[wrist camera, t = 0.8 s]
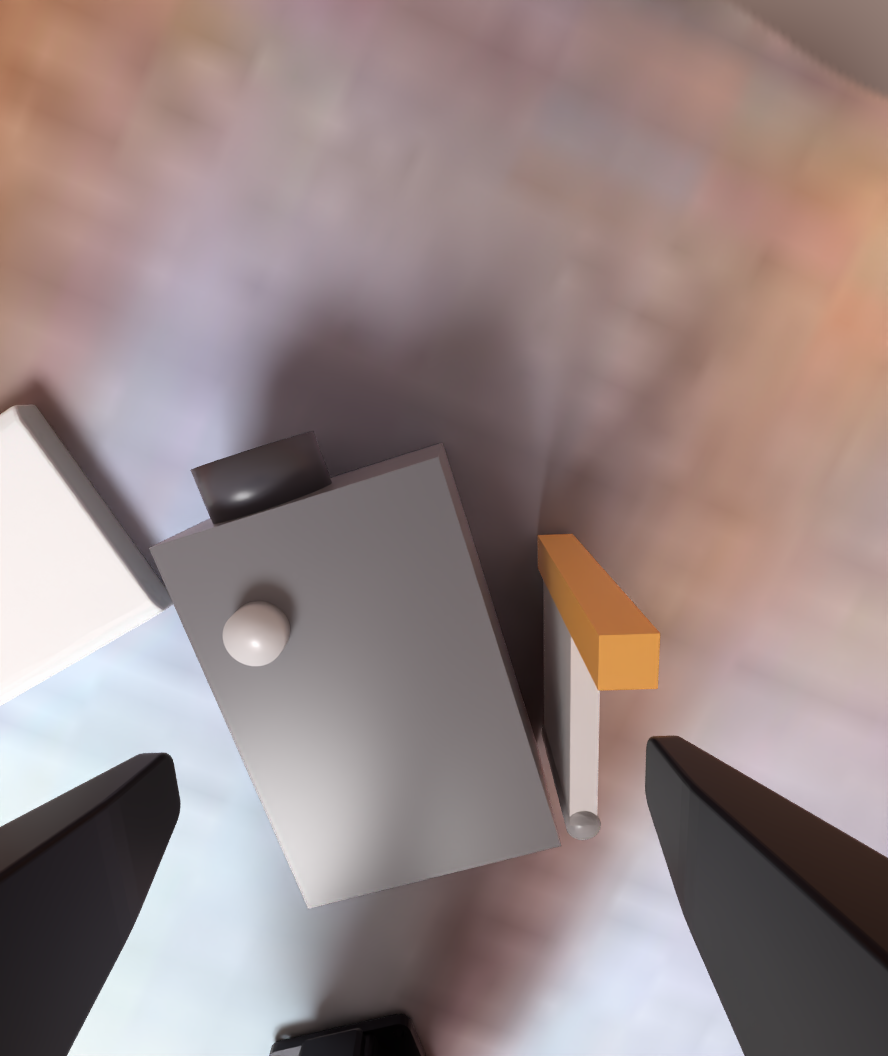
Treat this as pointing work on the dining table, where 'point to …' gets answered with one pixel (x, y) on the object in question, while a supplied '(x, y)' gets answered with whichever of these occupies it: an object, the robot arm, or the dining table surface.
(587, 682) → the side door
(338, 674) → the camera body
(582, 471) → the dining table surface
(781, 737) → the dining table surface
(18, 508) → the external hard drive
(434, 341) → the dining table surface
